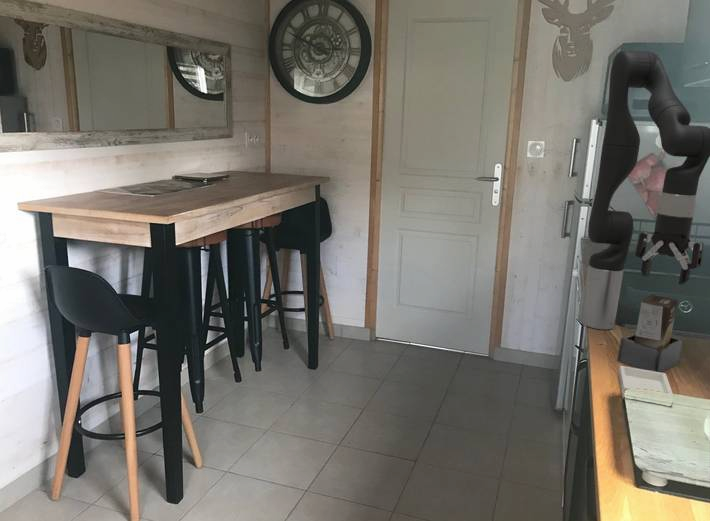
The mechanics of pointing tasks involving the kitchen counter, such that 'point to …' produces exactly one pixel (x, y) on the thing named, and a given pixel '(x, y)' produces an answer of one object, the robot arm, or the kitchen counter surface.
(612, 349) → the kitchen counter surface
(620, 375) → the tray
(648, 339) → the coffee box
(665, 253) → the robot arm
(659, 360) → the sleeve
